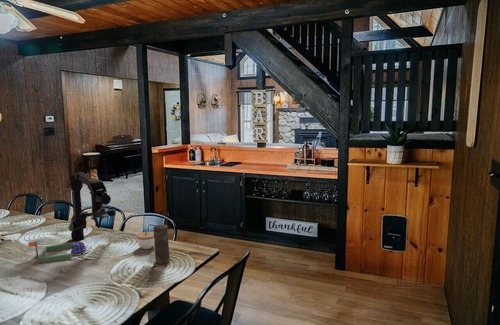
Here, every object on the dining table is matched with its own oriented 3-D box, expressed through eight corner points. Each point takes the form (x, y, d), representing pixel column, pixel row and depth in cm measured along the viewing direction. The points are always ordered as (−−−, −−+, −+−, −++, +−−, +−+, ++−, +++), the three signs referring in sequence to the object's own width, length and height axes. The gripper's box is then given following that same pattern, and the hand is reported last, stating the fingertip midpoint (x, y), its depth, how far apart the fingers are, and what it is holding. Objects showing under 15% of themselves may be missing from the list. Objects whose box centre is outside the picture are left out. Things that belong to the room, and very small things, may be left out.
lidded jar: (158, 244, 208) (158, 229, 207) (152, 251, 198) (151, 235, 197) (141, 243, 209) (140, 228, 208) (134, 250, 199) (133, 234, 198)
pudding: (83, 246, 206) (82, 238, 205) (94, 251, 199) (93, 242, 198) (62, 253, 196) (61, 244, 195) (73, 258, 189) (73, 249, 189)
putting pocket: (74, 246, 205) (73, 232, 204) (71, 258, 188) (69, 242, 187) (33, 252, 197) (31, 237, 196) (26, 264, 181) (24, 248, 179)
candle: (152, 262, 182) (150, 226, 179) (161, 257, 189) (160, 222, 186) (163, 265, 179) (161, 228, 176) (172, 260, 185) (171, 224, 182)
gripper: (77, 207, 187) (79, 234, 189) (114, 203, 194) (116, 230, 196) (79, 202, 197) (81, 228, 199) (114, 199, 204) (116, 224, 206)
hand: (98, 228), depth 200 cm, fingers closed
